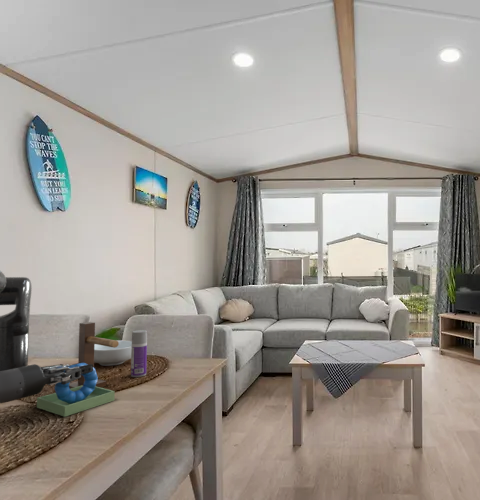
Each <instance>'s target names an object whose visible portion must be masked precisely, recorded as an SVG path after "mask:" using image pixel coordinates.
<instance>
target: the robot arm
mask: <svg viewBox="0 0 480 500" xmlns="http://www.w3.org/2000/svg"><path fill="white" fill-rule="evenodd" d="M32 288H33V287H32V281H31V278H29V277H26V276H6V275H5V273H3V271H1V270H0V306H15V308H14V309H13V310H12V311H10V312H8V313H4V314H2V315H0V404H6V403H9V402H13V401H17V400H20V399H26V398H28V397H32V396H36V395H38V394H40V393H41V392H42V391H43V388H44V387H45V386H46V385H47V386H55V384H57V383H59V382H61V384H63V385H64V384H67V383H69V382H70V383H72V382H75V381H78V379H79V378H81V375H82V374H86V373H90V372H92V371H93V364H88V365H83V366H79V367H73V368H68V367H69V366H71V365H74V364H75V363H73V364H68V363H67V364H64V363H63V364H62V363H60V364H54V365H45V366H40V365H38V364H29V343H30V341H29V340H30V315H31V314H30V312H31V299H32V290H33V289H32ZM81 363H84V362H81ZM76 364H79V363H78V362H77V363H76ZM64 370H65V373H64Z"/></svg>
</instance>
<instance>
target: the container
mask: <svg viewBox="0 0 480 500" xmlns="http://www.w3.org/2000/svg"><path fill="white" fill-rule="evenodd" d="M131 341H132V347H131V359H130V377H131V378H141V377H144V376H146V375H147V363H148V362H147V360H148V359H147V357H148V330H146V329H140V330H139V329H137V330H133V331H131Z"/></svg>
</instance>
